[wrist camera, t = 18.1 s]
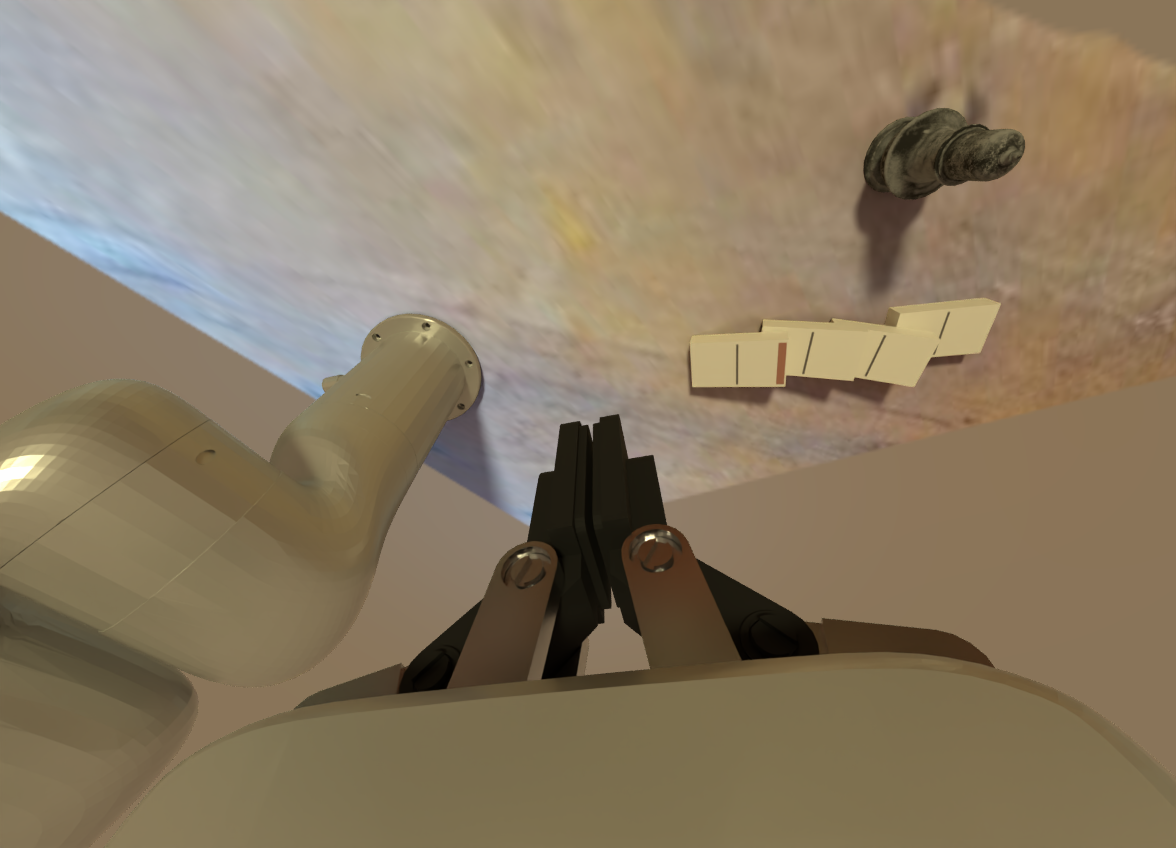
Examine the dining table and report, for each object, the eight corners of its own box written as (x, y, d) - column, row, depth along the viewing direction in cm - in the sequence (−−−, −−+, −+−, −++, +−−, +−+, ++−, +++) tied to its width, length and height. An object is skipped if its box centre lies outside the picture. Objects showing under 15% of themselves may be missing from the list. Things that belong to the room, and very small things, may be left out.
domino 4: (886, 361, 43) (980, 353, 42) (900, 313, 40) (1001, 303, 39) (875, 353, 44) (965, 345, 44) (888, 307, 42) (984, 297, 41)
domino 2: (755, 372, 43) (853, 381, 41) (762, 326, 41) (868, 331, 38) (755, 364, 45) (850, 372, 42) (763, 319, 42) (864, 324, 40)
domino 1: (692, 387, 44) (785, 386, 41) (689, 343, 42) (788, 339, 39) (694, 378, 46) (784, 377, 43) (692, 335, 43) (787, 331, 40)
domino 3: (816, 371, 43) (914, 387, 41) (835, 325, 40) (940, 340, 38) (813, 362, 45) (907, 377, 43) (831, 318, 42) (932, 332, 40)
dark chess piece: (923, 191, 36) (1051, 204, 26) (853, 200, 37) (951, 217, 26) (946, 106, 33) (1102, 84, 23) (868, 118, 33) (987, 101, 23)
